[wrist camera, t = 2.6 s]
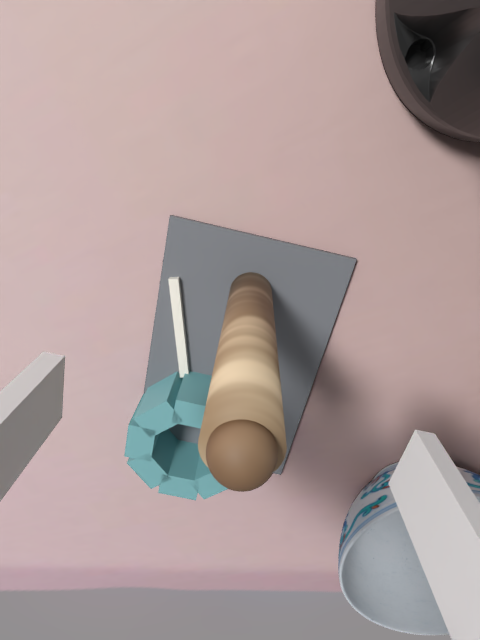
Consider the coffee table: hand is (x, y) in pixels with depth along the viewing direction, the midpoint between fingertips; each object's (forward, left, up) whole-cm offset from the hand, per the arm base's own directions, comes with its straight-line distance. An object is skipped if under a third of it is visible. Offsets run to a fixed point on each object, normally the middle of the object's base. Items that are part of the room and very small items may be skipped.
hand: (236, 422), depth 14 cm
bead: (+12, -2, -15) cm, 19 cm away
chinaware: (+15, +18, -15) cm, 28 cm away
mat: (+6, 0, -15) cm, 16 cm away
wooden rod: (0, 0, -15) cm, 15 cm away
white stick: (+4, -4, -15) cm, 16 cm away
